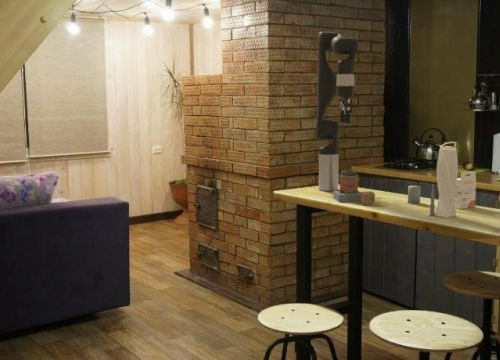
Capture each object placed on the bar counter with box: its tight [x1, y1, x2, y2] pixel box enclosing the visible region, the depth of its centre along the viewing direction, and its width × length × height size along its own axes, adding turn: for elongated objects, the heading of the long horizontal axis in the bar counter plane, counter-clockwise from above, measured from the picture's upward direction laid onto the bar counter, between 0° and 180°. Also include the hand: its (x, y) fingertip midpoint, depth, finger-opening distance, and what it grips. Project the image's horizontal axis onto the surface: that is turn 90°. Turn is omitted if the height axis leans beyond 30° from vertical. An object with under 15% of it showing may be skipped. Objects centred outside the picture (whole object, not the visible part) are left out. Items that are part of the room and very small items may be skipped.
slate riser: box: [332, 190, 361, 203], centre depth 267 cm, size 11×11×3 cm
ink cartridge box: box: [453, 170, 477, 210], centre depth 245 cm, size 9×5×15 cm, turn 117°
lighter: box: [338, 169, 359, 193], centre depth 265 cm, size 8×3×10 cm, turn 88°
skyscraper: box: [428, 141, 459, 219], centre depth 228 cm, size 8×8×28 cm
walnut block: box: [359, 190, 376, 206], centre depth 255 cm, size 5×5×5 cm
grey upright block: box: [407, 185, 421, 205], centre depth 257 cm, size 5×5×7 cm
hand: (344, 122), depth 266 cm, fingers open, 8 cm apart
